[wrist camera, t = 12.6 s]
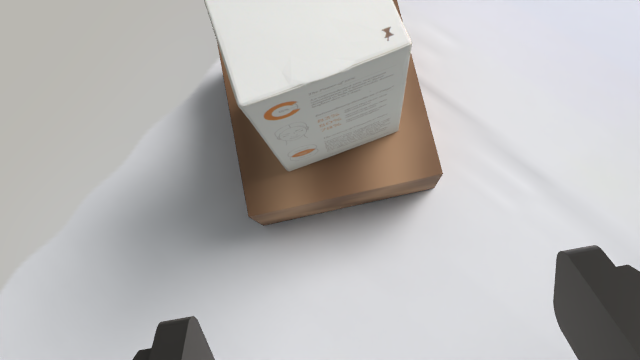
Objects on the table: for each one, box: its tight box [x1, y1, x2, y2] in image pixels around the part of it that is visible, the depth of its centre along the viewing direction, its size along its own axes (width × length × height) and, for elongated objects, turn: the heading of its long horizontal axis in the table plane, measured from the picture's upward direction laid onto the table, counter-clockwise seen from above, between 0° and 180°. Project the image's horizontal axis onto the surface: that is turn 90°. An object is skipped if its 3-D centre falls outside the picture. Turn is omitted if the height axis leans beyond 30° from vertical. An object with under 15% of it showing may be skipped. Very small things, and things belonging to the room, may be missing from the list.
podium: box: [217, 0, 443, 226], centre depth 39 cm, size 13×13×5 cm
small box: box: [204, 0, 412, 171], centre depth 30 cm, size 8×6×13 cm
